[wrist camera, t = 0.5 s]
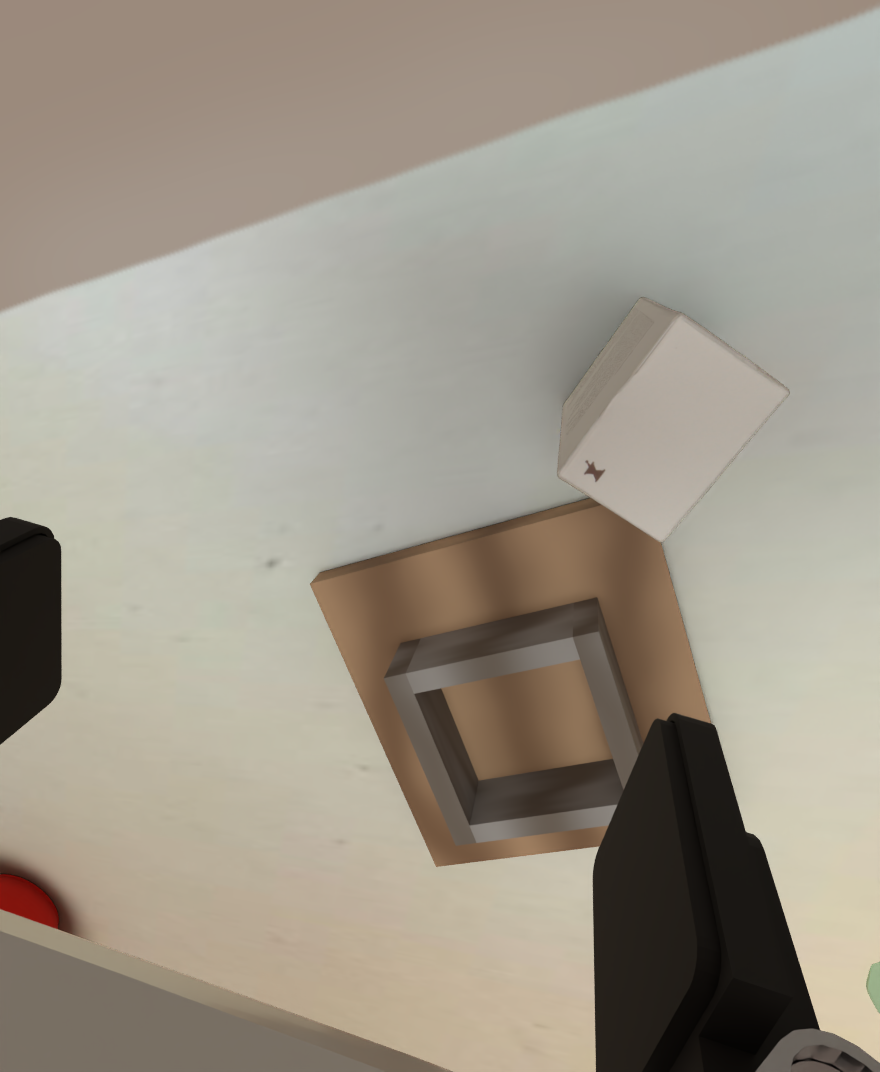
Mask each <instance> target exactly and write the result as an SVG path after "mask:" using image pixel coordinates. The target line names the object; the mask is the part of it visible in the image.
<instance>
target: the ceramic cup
mask: <svg viewBox="0 0 880 1072" xmlns="http://www.w3.org/2000/svg"><path fill="white" fill-rule="evenodd" d="M0 909H1V910H4V911H7V912H10V913H12V914H15V915H18V916H21V917H24V918H27V919H29V920H32V921H35V922H38V923H41V924H44V925H47V926H49V927H52V928H55V929H58V923H59V917H58V912H57V910H56V907H55V905H54V904H53V902H52V901H51V899H50V898H49V897H48V896H47V895H46V894H45V893H44V892H43V891H42V890H41V889H40V888H39V887H37V886H36V885H34V884H33V883H31V882H29V881H27V880H25V879H23V878H20V877H18V876H14V875H7V874H1V875H0Z"/></svg>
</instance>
